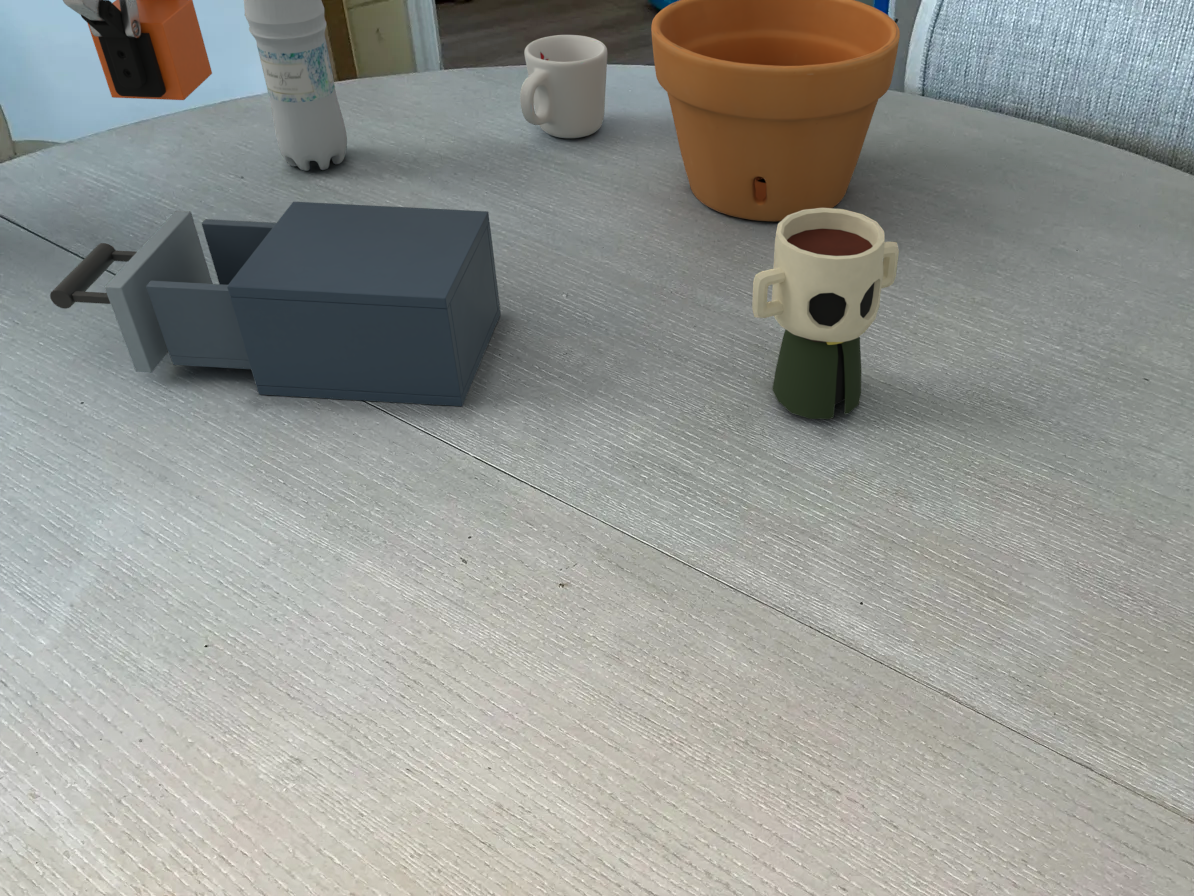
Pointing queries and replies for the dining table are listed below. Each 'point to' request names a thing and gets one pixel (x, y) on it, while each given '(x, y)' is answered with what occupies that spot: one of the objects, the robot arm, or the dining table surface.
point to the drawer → (173, 292)
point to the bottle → (299, 80)
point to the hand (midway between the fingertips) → (159, 76)
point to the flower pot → (772, 97)
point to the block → (169, 46)
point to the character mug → (823, 304)
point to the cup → (565, 85)
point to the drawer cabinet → (369, 303)
